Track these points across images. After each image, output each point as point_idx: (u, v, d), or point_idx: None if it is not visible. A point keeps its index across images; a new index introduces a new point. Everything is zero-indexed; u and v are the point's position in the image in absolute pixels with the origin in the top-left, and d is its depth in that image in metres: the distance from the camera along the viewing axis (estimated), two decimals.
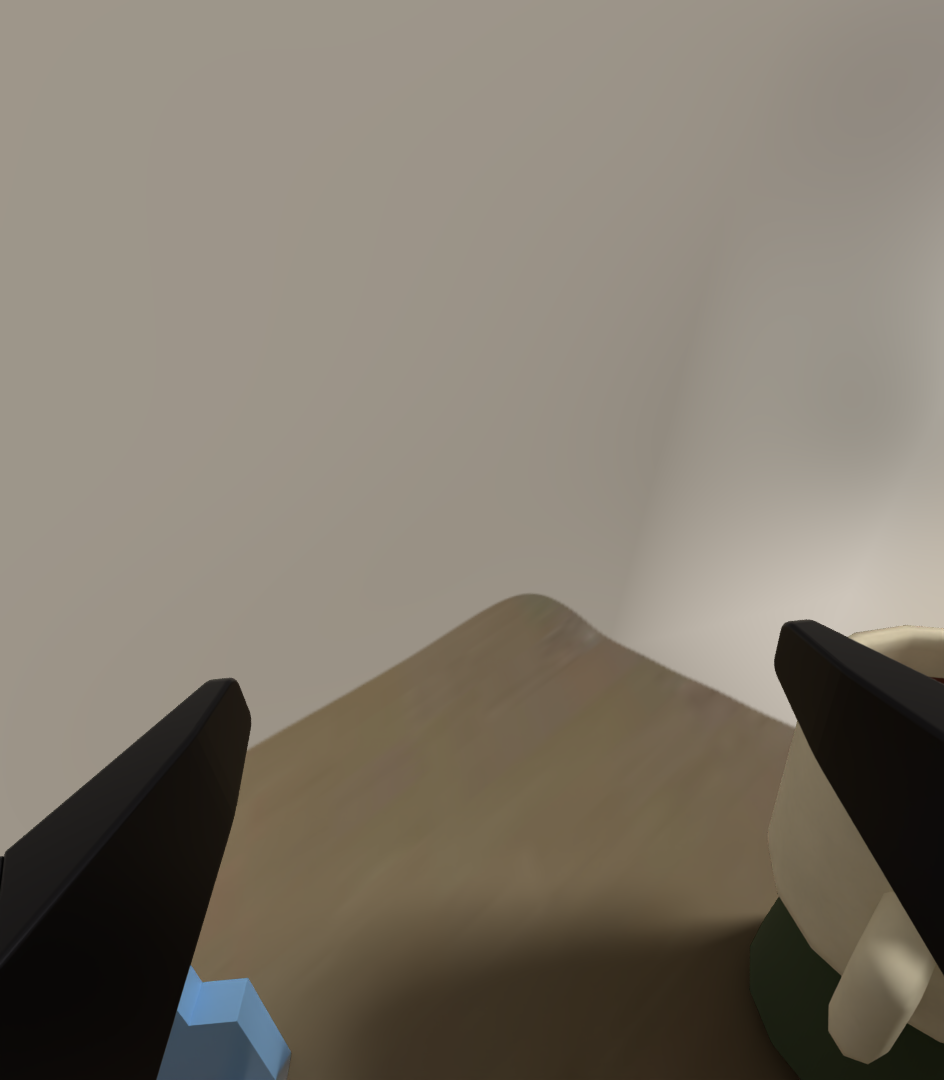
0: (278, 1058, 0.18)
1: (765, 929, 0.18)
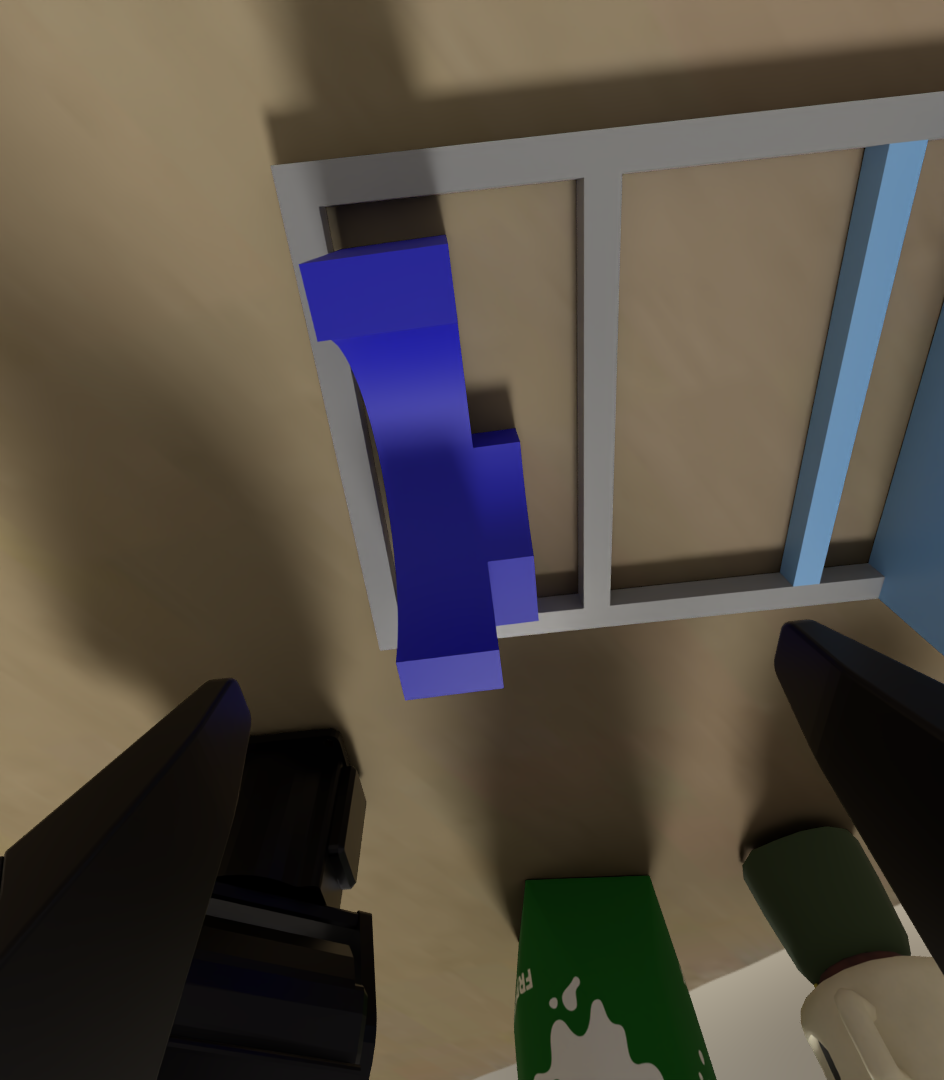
0: None
1: (862, 868, 0.29)
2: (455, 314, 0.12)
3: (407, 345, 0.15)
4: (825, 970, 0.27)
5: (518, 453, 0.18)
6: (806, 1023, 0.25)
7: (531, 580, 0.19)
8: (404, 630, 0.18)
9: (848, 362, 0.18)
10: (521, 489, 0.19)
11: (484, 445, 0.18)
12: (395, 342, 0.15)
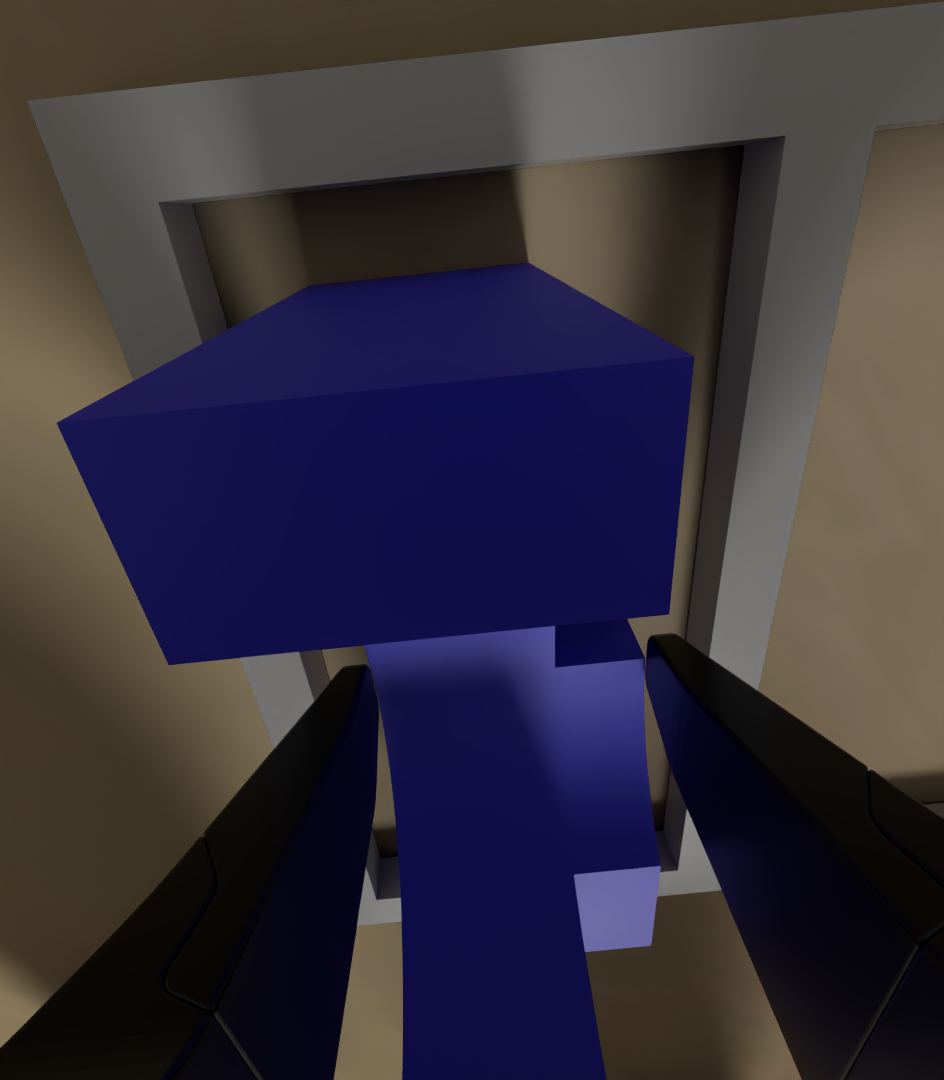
0: None
1: None
2: (666, 590, 0.03)
3: None
4: None
5: (639, 677, 0.10)
6: None
7: (649, 897, 0.10)
8: (416, 1044, 0.09)
9: None
10: (639, 736, 0.10)
11: (576, 659, 0.10)
12: None
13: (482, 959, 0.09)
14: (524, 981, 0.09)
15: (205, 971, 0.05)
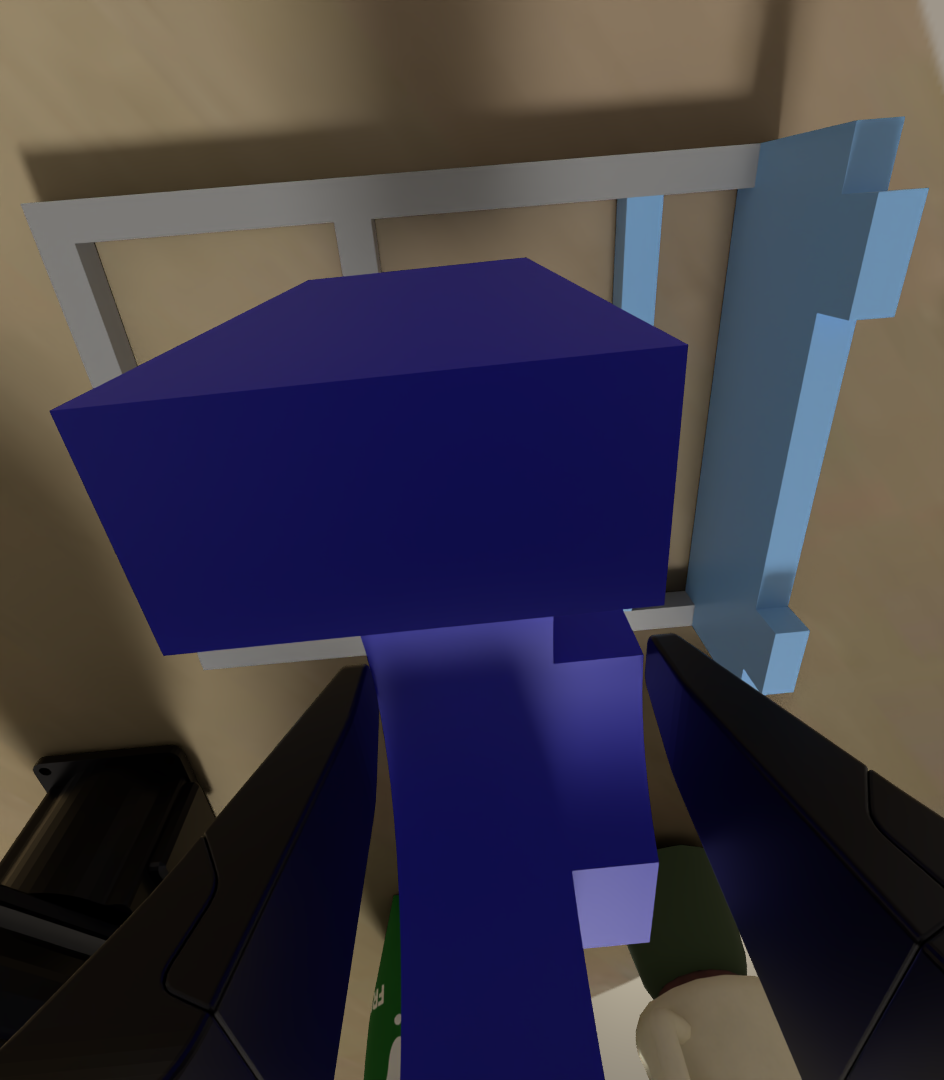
0: None
1: (709, 886, 0.29)
2: (662, 581, 0.03)
3: None
4: (662, 988, 0.27)
5: (638, 673, 0.10)
6: (636, 1041, 0.26)
7: (647, 893, 0.10)
8: (414, 1039, 0.09)
9: None
10: (637, 732, 0.10)
11: (575, 656, 0.10)
12: None
13: (480, 955, 0.09)
14: (522, 977, 0.09)
15: (205, 971, 0.05)
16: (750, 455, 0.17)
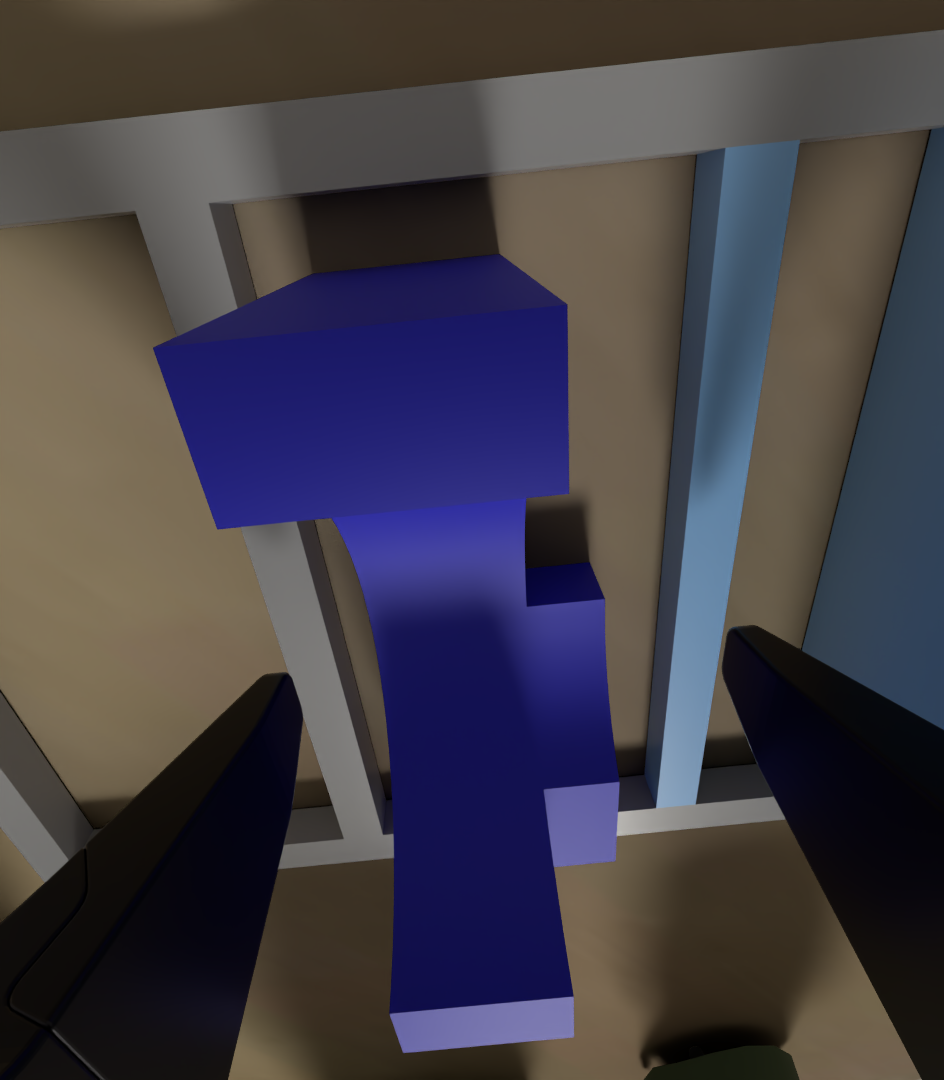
0: None
1: None
2: (565, 475, 0.05)
3: None
4: None
5: (600, 616, 0.11)
6: None
7: (611, 812, 0.12)
8: (405, 926, 0.10)
9: (697, 517, 0.11)
10: (601, 669, 0.12)
11: (546, 601, 0.11)
12: None
13: (463, 859, 0.11)
14: (499, 876, 0.11)
15: (51, 986, 0.05)
16: (943, 629, 0.09)
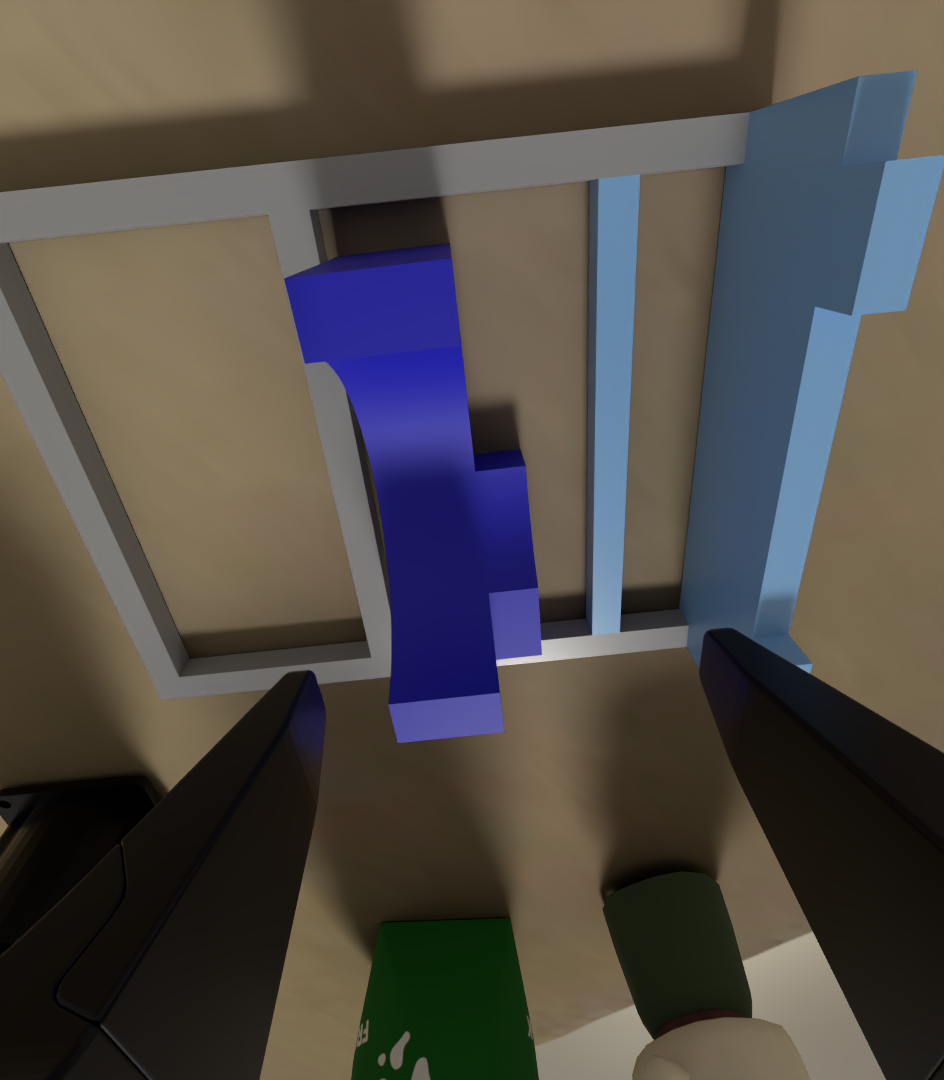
0: None
1: (711, 917, 0.27)
2: (458, 336, 0.11)
3: (405, 365, 0.14)
4: (660, 1028, 0.25)
5: (523, 478, 0.17)
6: None
7: (535, 613, 0.18)
8: (398, 667, 0.16)
9: (602, 407, 0.17)
10: (526, 516, 0.18)
11: (487, 468, 0.17)
12: (393, 362, 0.13)
13: (435, 633, 0.17)
14: (458, 641, 0.17)
15: (97, 981, 0.05)
16: (743, 466, 0.15)
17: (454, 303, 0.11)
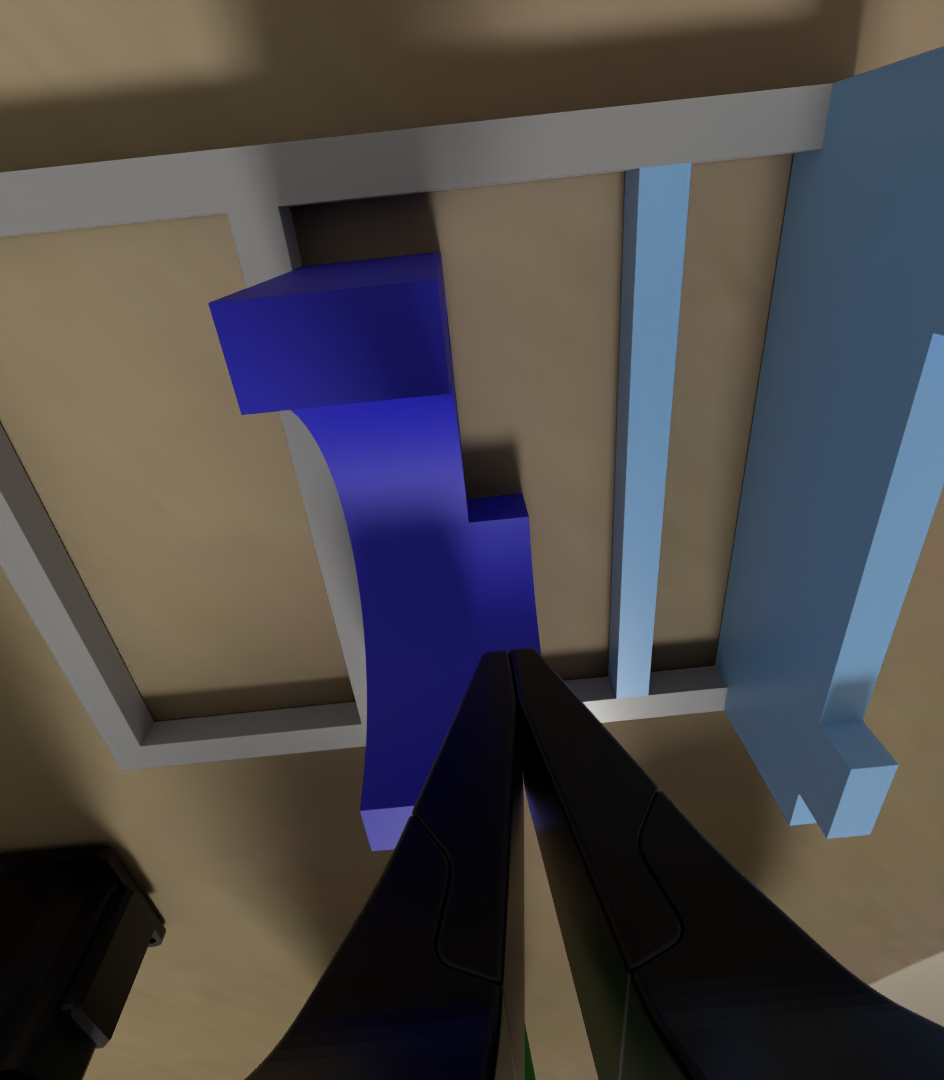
0: None
1: None
2: (447, 381, 0.08)
3: (382, 405, 0.11)
4: None
5: (526, 530, 0.15)
6: None
7: None
8: (373, 759, 0.14)
9: (635, 444, 0.14)
10: (528, 574, 0.15)
11: (483, 518, 0.14)
12: (366, 402, 0.11)
13: (419, 715, 0.14)
14: (446, 726, 0.14)
15: (477, 945, 0.05)
16: (811, 520, 0.13)
17: (441, 339, 0.08)
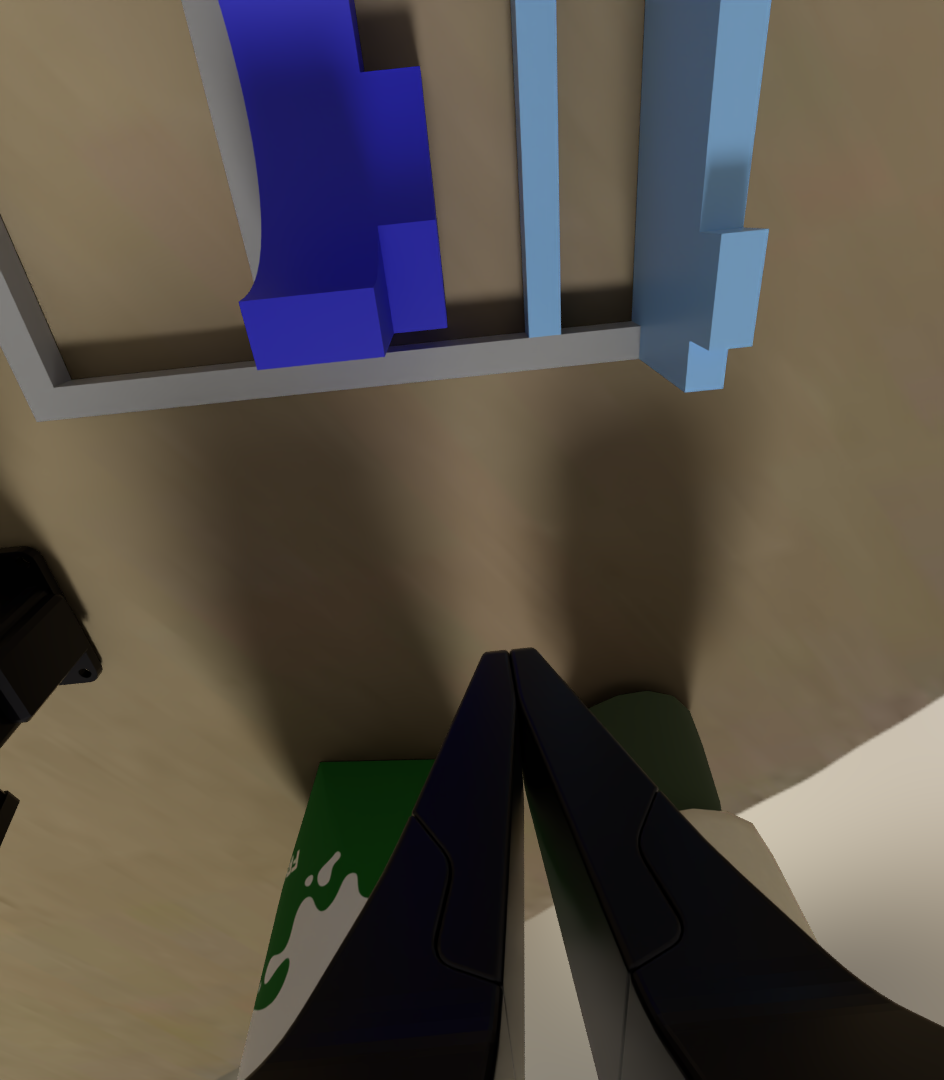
0: None
1: (678, 731, 0.25)
2: None
3: None
4: None
5: (418, 84, 0.15)
6: None
7: (435, 260, 0.15)
8: (260, 285, 0.14)
9: None
10: (423, 139, 0.15)
11: (375, 72, 0.15)
12: None
13: (311, 261, 0.14)
14: (336, 266, 0.14)
15: (477, 944, 0.05)
16: (687, 6, 0.13)
17: None
